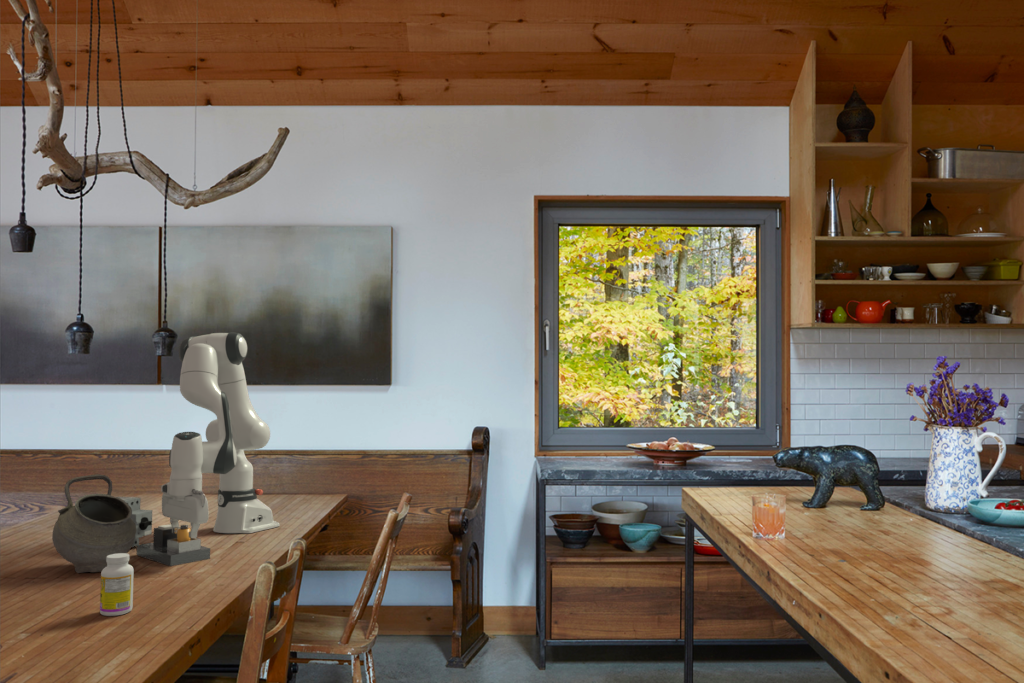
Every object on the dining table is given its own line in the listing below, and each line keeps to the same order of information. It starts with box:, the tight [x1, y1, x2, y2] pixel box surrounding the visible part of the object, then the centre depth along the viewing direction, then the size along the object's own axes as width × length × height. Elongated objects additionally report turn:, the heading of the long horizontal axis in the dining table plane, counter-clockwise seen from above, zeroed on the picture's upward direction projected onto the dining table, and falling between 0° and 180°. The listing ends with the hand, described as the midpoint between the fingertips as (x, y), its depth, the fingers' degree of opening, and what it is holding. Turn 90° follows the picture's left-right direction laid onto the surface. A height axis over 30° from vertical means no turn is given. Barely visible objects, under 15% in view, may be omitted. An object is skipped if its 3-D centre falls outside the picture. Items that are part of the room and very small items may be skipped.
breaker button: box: [157, 523, 172, 530], centre depth 228 cm, size 4×4×5 cm
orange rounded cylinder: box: [177, 524, 191, 542], centre depth 222 cm, size 4×4×7 cm
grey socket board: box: [136, 527, 211, 567], centre depth 226 cm, size 12×20×8 cm, turn 52°
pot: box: [51, 473, 136, 574], centre depth 213 cm, size 21×21×25 cm
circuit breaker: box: [117, 496, 153, 548], centre depth 237 cm, size 8×14×15 cm, turn 78°
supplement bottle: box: [99, 552, 135, 617], centre depth 173 cm, size 7×7×13 cm
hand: (184, 535), depth 222 cm, fingers open, 8 cm apart
